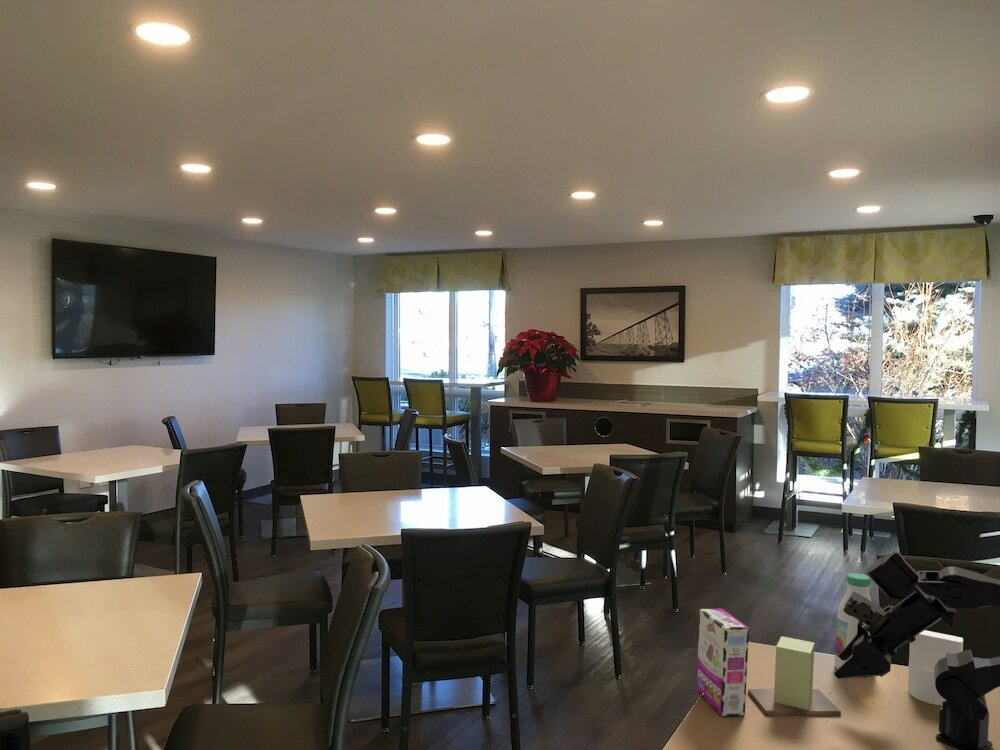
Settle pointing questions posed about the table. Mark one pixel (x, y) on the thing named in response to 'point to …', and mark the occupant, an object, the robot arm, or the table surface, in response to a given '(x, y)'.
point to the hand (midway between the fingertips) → (838, 666)
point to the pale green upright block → (794, 672)
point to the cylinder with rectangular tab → (929, 663)
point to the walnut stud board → (769, 707)
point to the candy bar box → (722, 661)
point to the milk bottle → (846, 623)
